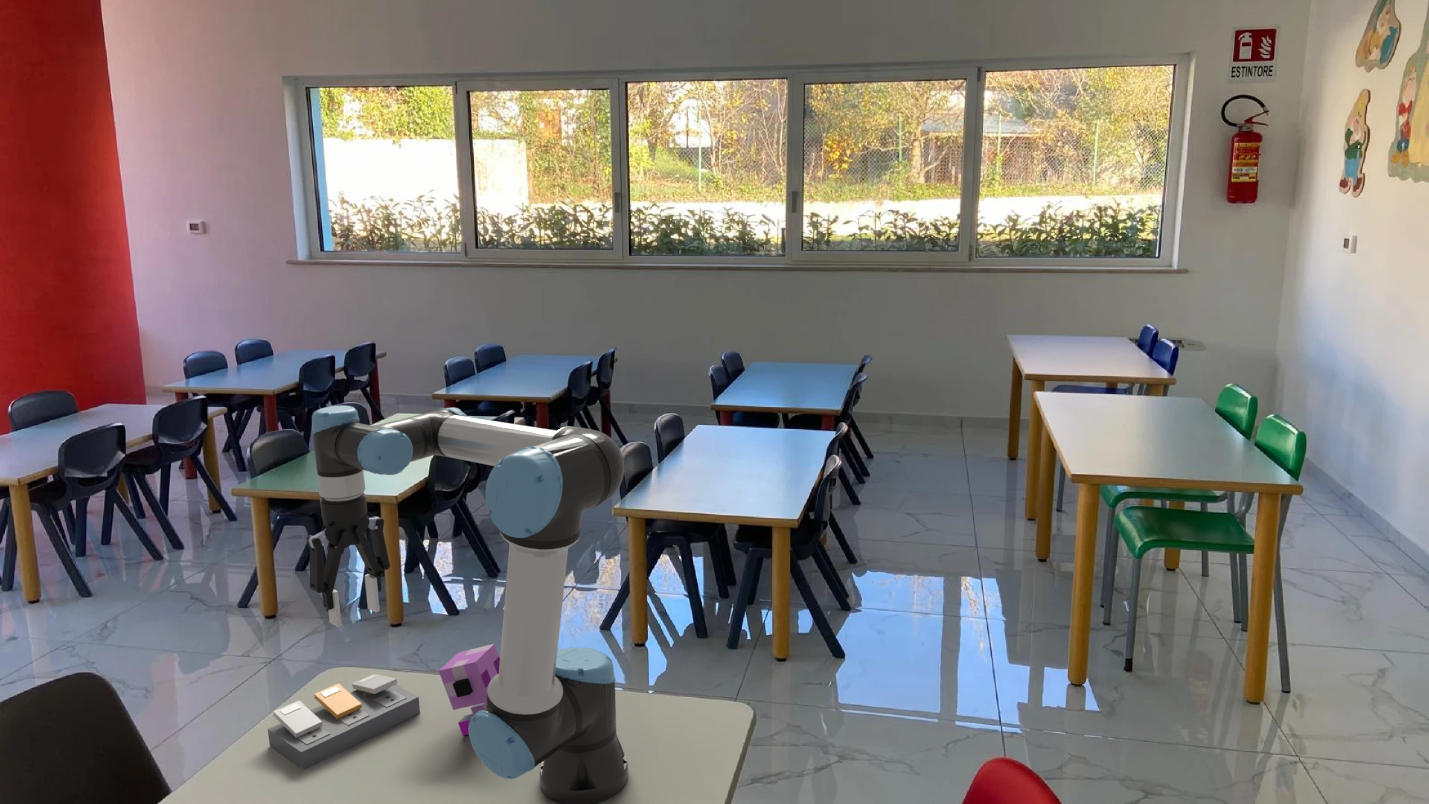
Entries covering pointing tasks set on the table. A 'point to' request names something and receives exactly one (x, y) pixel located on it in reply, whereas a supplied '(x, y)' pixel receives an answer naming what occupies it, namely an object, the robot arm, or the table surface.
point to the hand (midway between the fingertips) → (355, 616)
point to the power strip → (345, 726)
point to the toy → (470, 680)
